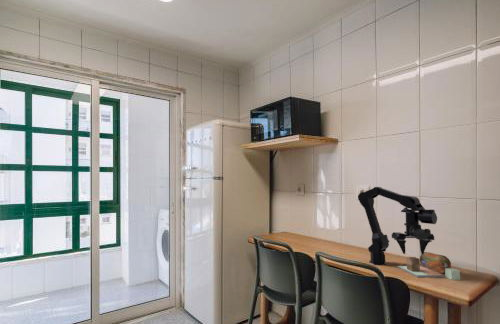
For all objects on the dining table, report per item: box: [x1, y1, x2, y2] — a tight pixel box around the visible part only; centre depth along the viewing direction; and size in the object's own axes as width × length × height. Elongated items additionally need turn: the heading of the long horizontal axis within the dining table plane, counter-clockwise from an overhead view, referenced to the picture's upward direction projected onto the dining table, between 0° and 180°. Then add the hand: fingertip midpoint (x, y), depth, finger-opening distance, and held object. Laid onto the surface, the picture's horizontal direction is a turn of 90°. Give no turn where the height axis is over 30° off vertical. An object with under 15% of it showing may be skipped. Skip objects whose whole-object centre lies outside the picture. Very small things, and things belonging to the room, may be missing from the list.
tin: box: [419, 251, 452, 274], centre depth 145 cm, size 15×3×8 cm, turn 21°
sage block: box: [444, 267, 461, 281], centre depth 133 cm, size 4×4×4 cm
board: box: [397, 265, 446, 279], centre depth 142 cm, size 13×17×1 cm
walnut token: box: [406, 256, 421, 272], centre depth 142 cm, size 4×4×6 cm
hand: (413, 253), depth 142 cm, fingers open, 9 cm apart
